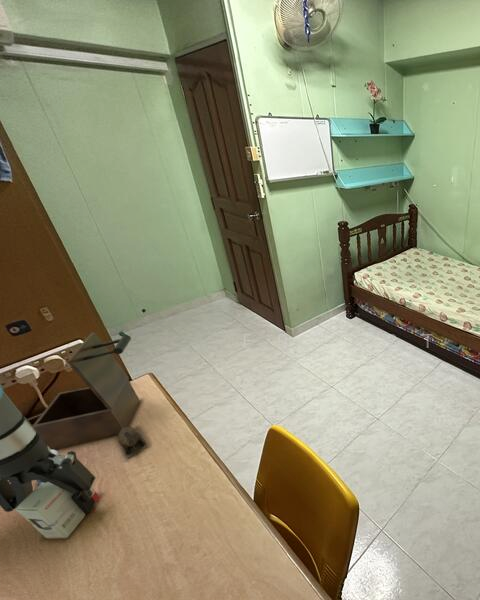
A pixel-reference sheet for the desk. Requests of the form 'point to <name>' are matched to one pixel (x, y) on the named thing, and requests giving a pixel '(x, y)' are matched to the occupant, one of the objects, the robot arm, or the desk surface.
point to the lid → (101, 367)
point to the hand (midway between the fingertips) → (70, 513)
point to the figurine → (131, 441)
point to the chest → (84, 417)
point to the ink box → (52, 510)
